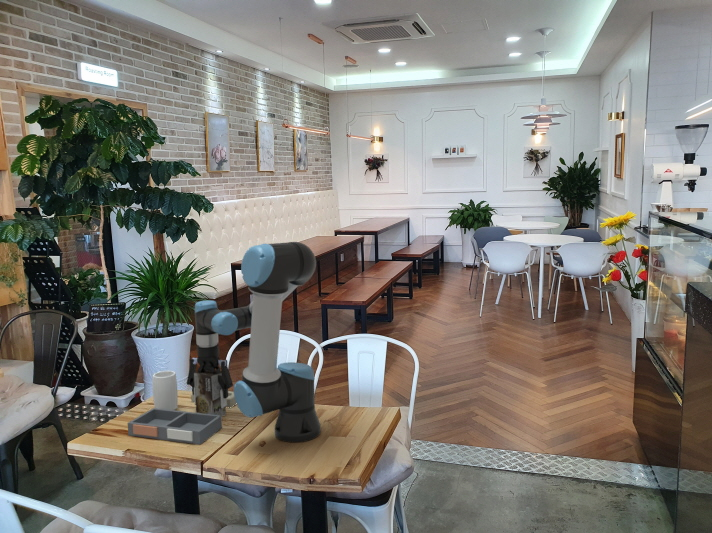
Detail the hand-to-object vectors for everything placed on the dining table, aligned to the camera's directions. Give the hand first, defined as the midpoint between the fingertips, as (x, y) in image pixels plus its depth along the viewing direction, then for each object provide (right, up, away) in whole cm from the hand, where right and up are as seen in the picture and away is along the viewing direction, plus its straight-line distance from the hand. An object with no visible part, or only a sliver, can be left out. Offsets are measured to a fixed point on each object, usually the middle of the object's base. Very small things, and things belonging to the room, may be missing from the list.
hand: (210, 405), depth 201 cm
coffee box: (0, -4, 0) cm, 4 cm away
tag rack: (-8, -6, -13) cm, 17 cm away
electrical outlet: (-1, -3, +14) cm, 14 cm away
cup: (-17, -4, +5) cm, 18 cm away
